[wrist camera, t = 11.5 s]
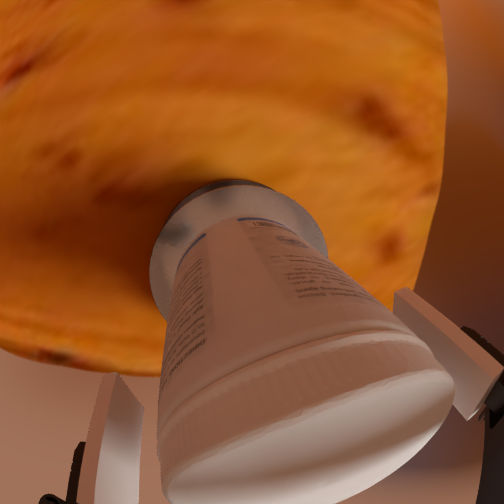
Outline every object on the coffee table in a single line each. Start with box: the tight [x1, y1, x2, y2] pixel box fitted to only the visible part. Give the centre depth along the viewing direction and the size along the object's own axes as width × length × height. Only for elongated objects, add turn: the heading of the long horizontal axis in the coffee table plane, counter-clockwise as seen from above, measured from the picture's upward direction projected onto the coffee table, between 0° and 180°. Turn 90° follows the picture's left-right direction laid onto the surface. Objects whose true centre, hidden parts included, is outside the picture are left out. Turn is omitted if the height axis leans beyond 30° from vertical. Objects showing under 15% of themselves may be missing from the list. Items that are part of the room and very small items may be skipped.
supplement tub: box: [157, 215, 455, 504], centre depth 12 cm, size 10×10×15 cm
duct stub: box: [149, 179, 328, 322], centre depth 21 cm, size 13×13×5 cm
